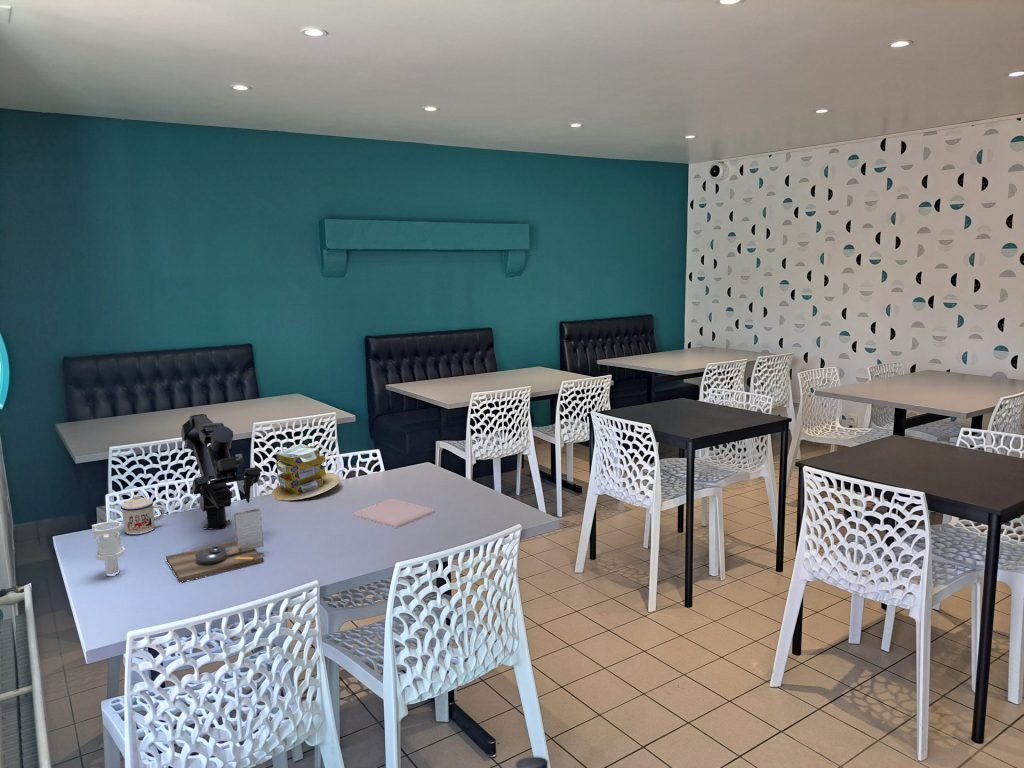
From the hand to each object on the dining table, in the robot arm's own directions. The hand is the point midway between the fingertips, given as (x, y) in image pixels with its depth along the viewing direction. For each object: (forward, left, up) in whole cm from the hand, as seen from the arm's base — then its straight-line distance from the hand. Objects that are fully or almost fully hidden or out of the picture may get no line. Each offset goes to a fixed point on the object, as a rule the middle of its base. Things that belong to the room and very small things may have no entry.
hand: (233, 505), depth 216 cm
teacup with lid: (-17, -35, -13) cm, 41 cm away
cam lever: (+9, +1, -11) cm, 15 cm away
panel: (-21, +36, -14) cm, 44 cm away
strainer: (+17, -28, -13) cm, 35 cm away
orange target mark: (+12, +6, -12) cm, 18 cm away
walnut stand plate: (+10, -3, -13) cm, 17 cm away
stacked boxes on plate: (-54, +7, -14) cm, 56 cm away
